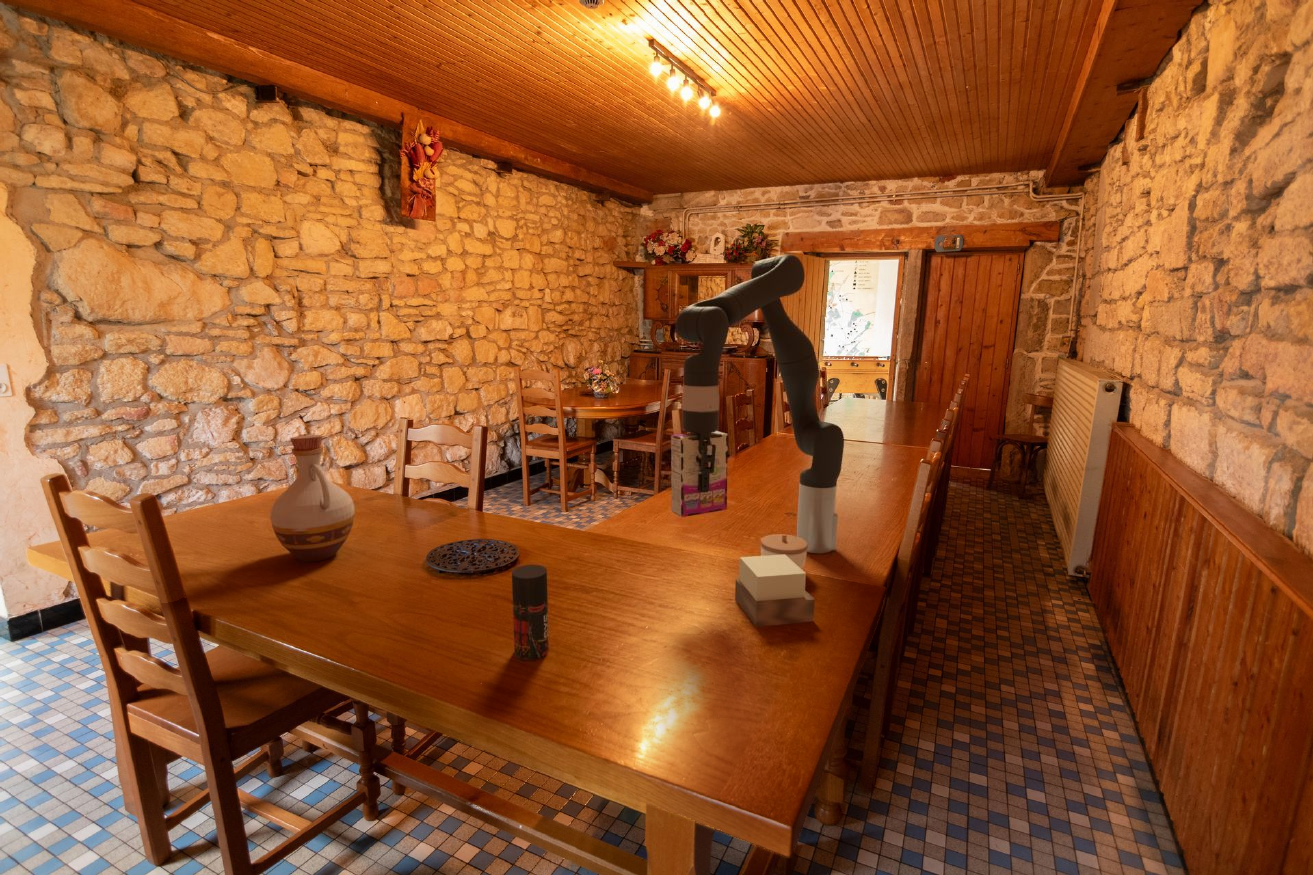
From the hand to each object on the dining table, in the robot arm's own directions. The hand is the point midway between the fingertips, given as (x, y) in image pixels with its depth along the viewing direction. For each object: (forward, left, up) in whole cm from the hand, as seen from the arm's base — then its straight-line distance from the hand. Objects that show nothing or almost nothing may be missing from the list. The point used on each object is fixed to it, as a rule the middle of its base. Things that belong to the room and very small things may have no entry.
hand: (699, 487), depth 128 cm
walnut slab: (-13, +10, -24) cm, 29 cm away
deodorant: (+35, +17, -24) cm, 46 cm away
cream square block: (-13, +10, -19) cm, 25 cm away
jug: (+85, -38, -24) cm, 96 cm away
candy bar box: (0, 0, -5) cm, 5 cm away
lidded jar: (-23, -7, -24) cm, 34 cm away
